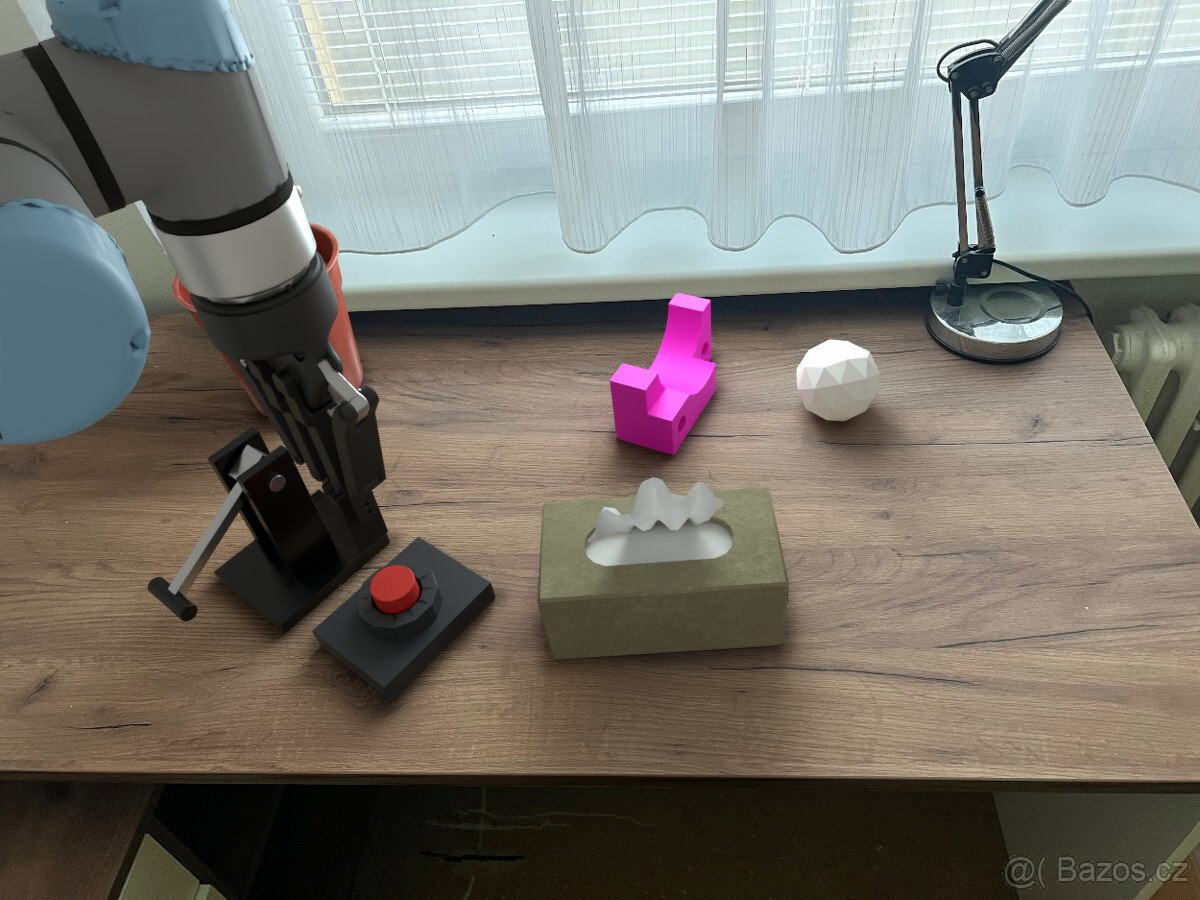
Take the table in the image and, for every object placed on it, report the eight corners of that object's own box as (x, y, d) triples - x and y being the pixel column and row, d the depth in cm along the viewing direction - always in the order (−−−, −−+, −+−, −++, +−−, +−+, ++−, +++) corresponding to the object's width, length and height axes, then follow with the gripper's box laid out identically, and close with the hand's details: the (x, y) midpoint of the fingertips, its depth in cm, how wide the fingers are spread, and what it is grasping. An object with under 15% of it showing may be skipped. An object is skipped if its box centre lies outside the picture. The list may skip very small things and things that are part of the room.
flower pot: (203, 414, 96) (134, 292, 85) (304, 329, 106) (255, 209, 95) (314, 455, 89) (256, 329, 78) (411, 360, 99) (371, 236, 88)
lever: (196, 624, 69) (172, 618, 67) (162, 595, 72) (138, 588, 70) (293, 471, 71) (273, 461, 69) (257, 448, 74) (237, 437, 71)
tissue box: (548, 661, 69) (515, 532, 58) (552, 563, 76) (522, 432, 65) (787, 646, 68) (799, 512, 57) (769, 548, 75) (776, 412, 64)
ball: (814, 419, 90) (800, 343, 89) (894, 408, 86) (880, 327, 85) (793, 434, 83) (777, 352, 82) (878, 422, 79) (863, 335, 78)
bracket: (285, 633, 74) (219, 528, 64) (218, 580, 79) (148, 474, 69) (390, 541, 80) (344, 433, 70) (322, 497, 85) (271, 390, 75)
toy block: (673, 455, 84) (670, 396, 79) (616, 438, 87) (609, 380, 82) (733, 363, 93) (733, 305, 88) (679, 350, 96) (677, 292, 90)
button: (396, 621, 69) (390, 608, 68) (366, 600, 71) (360, 587, 70) (428, 591, 71) (423, 578, 70) (399, 571, 73) (393, 558, 72)
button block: (391, 702, 68) (377, 675, 65) (320, 645, 73) (303, 618, 70) (496, 597, 74) (487, 569, 72) (424, 551, 79) (413, 522, 76)
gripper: (379, 269, 48) (464, 544, 64) (242, 211, 54) (351, 474, 71) (267, 340, 44) (388, 614, 60) (134, 268, 51) (276, 533, 67)
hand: (368, 538), depth 66 cm, fingers closed
